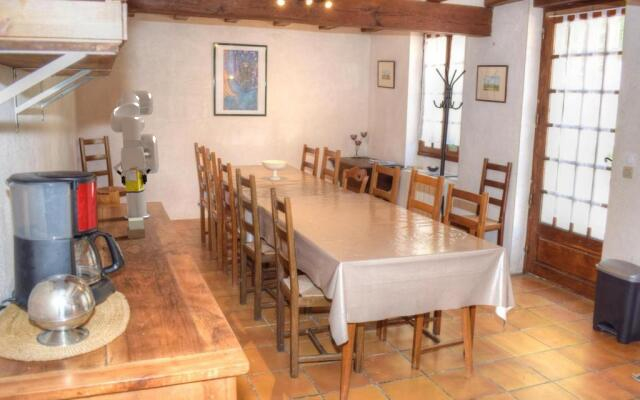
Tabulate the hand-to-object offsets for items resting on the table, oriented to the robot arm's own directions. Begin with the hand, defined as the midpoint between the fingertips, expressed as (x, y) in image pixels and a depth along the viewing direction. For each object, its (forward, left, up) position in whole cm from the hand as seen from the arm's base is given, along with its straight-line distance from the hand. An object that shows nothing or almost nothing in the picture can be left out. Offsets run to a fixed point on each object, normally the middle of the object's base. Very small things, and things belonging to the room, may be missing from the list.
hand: (134, 184), depth 256 cm
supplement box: (0, 0, -4) cm, 4 cm away
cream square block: (+3, -1, -19) cm, 19 cm away
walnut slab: (+3, -1, -23) cm, 23 cm away
